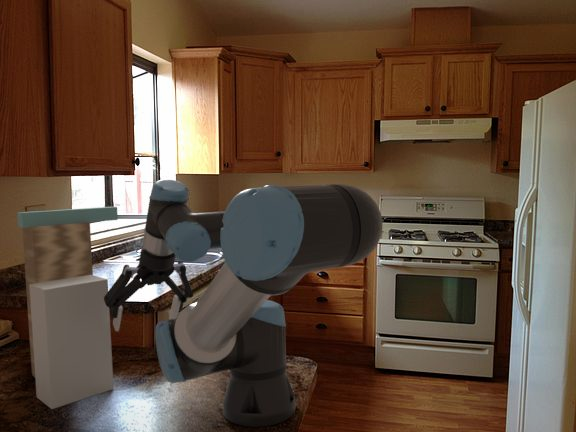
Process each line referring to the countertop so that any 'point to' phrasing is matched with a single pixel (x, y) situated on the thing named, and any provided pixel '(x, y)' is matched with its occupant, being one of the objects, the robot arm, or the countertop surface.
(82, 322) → the step block
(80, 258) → the oak block
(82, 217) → the teal block
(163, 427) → the countertop surface
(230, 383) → the robot arm
